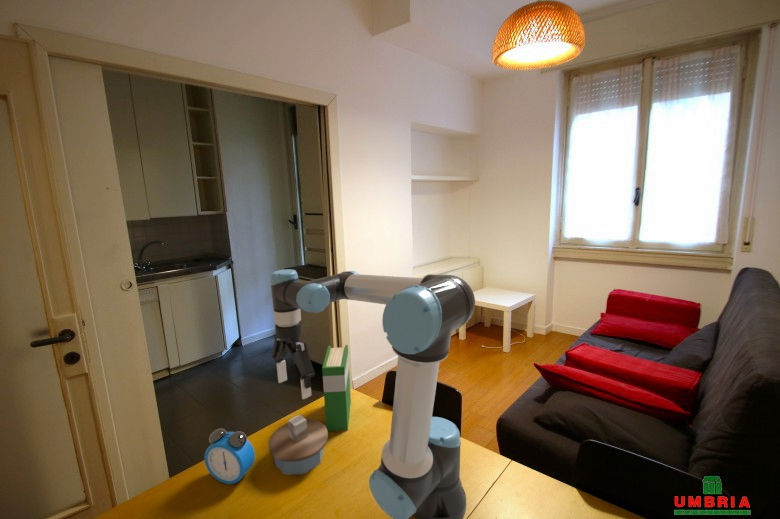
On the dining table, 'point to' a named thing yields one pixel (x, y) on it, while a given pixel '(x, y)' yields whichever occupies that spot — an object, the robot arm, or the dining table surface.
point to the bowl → (299, 464)
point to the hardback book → (336, 388)
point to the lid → (298, 439)
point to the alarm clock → (229, 456)
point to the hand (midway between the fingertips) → (294, 388)
